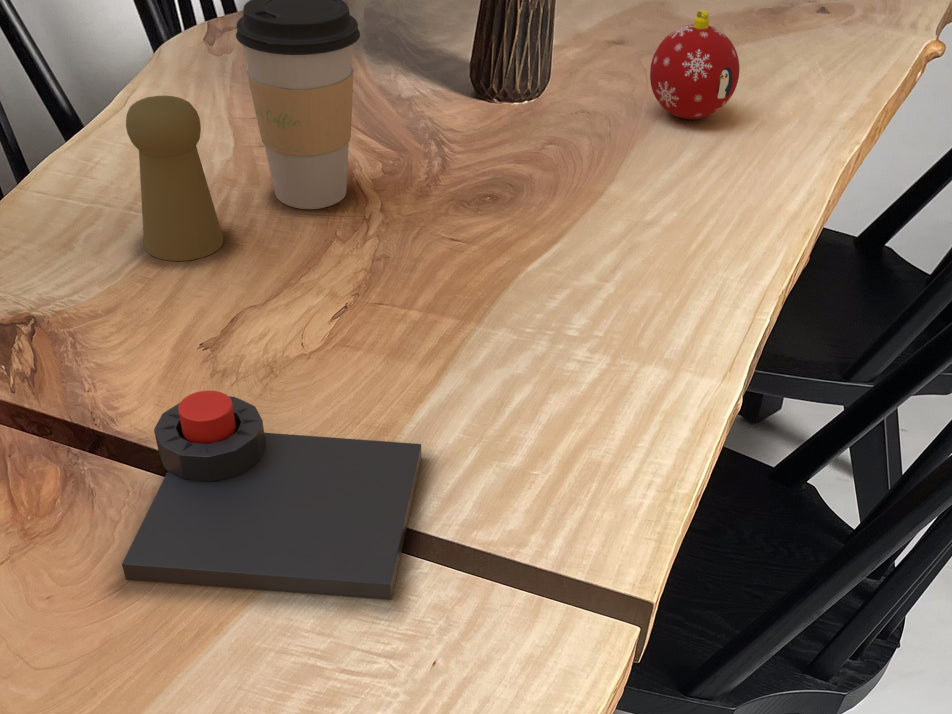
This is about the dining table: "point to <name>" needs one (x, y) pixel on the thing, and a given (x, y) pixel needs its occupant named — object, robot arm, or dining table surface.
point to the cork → (172, 180)
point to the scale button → (207, 417)
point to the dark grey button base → (276, 511)
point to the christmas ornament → (694, 70)
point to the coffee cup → (302, 94)
